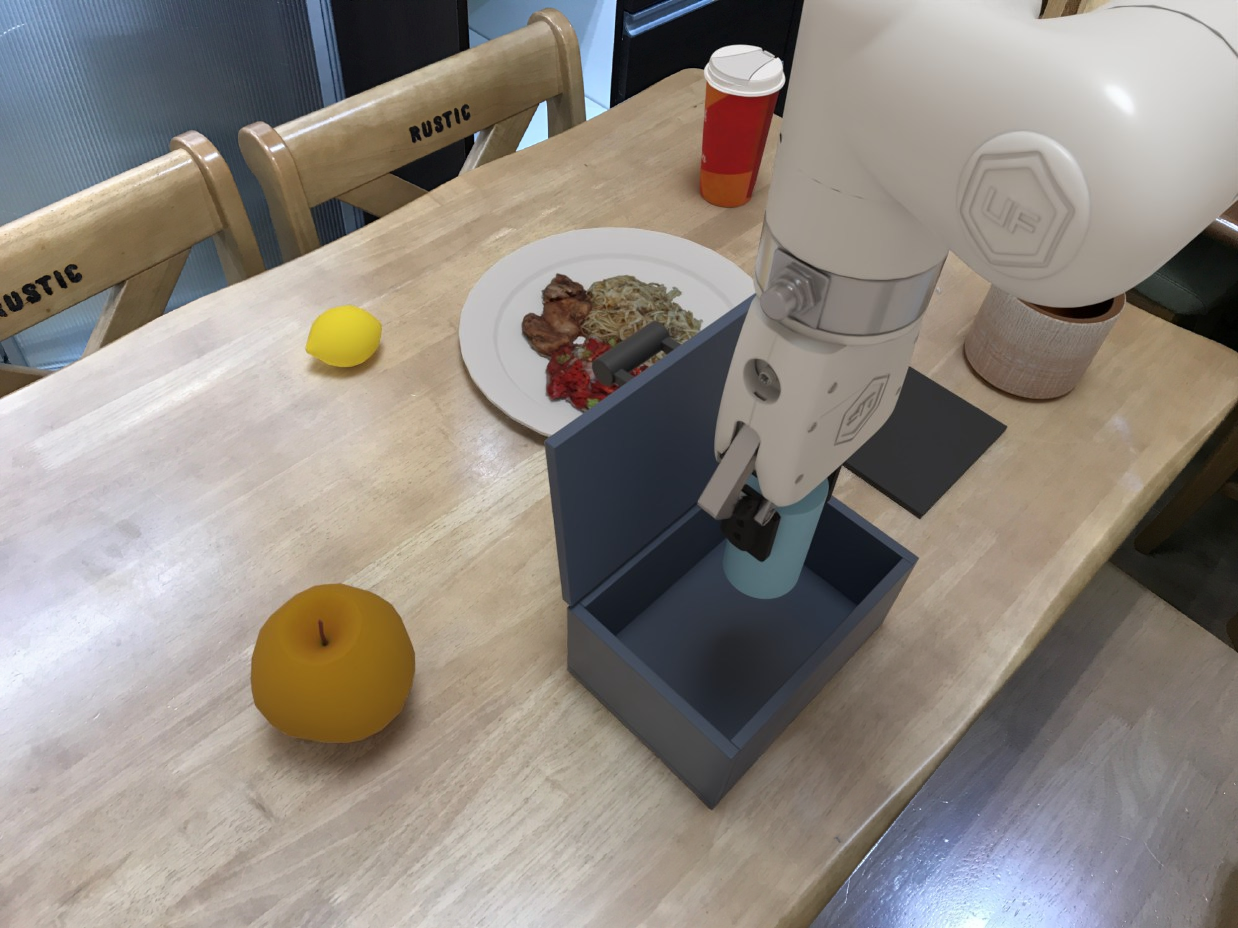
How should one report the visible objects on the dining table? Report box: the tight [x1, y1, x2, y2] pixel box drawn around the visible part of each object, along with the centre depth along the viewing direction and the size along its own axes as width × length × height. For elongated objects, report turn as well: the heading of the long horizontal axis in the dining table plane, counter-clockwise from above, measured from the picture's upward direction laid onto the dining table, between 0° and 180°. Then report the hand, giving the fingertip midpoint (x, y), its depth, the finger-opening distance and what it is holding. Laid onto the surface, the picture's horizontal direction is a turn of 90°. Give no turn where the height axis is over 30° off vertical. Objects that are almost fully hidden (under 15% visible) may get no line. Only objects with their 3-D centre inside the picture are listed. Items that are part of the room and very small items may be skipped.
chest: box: [566, 495, 920, 810], centre depth 61 cm, size 14×20×9 cm
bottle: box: [723, 474, 829, 599], centre depth 51 cm, size 5×5×11 cm
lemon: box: [304, 304, 383, 368], centre depth 79 cm, size 7×5×5 cm
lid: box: [544, 293, 757, 606], centre depth 56 cm, size 14×20×5 cm
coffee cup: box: [699, 44, 786, 208], centre depth 94 cm, size 8×8×15 cm
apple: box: [250, 582, 416, 744], centre depth 56 cm, size 10×10×12 cm
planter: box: [964, 284, 1127, 400], centre depth 81 cm, size 11×11×10 cm
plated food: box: [458, 226, 756, 438], centre depth 83 cm, size 30×30×3 cm
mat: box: [842, 365, 1008, 519], centre depth 78 cm, size 15×14×1 cm
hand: (775, 514), depth 51 cm, fingers closed on bottle, 4 cm apart
